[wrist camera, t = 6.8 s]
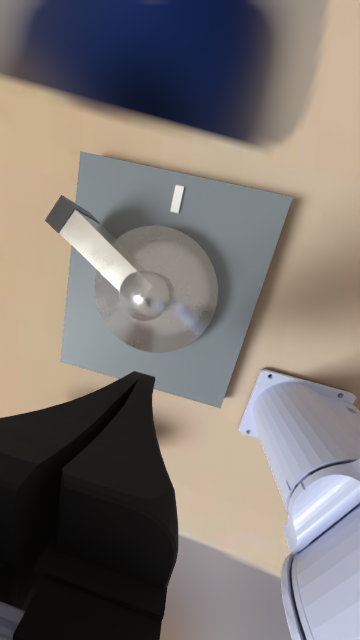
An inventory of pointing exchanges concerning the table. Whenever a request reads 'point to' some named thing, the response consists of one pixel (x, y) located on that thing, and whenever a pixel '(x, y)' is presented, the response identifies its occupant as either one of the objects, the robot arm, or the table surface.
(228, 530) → the table surface
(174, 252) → the dial
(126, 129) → the table surface
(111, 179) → the dial plate
